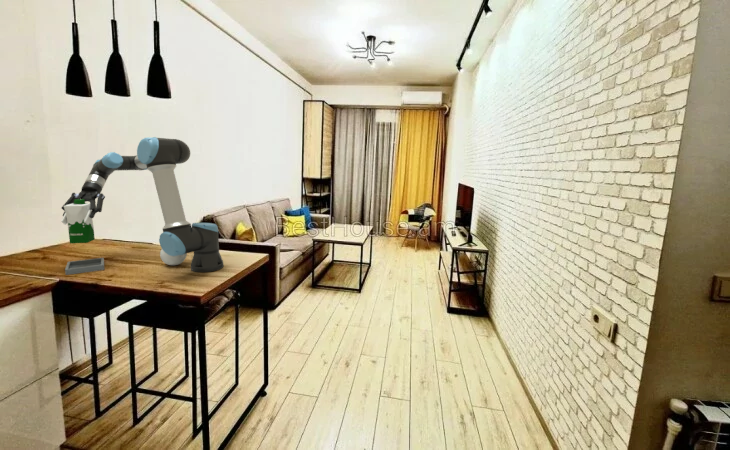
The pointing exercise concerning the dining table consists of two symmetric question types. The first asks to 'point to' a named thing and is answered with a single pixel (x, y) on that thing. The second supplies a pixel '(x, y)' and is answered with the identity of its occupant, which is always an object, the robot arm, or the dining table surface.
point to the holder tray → (84, 266)
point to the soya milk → (79, 222)
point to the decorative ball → (172, 258)
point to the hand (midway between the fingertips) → (74, 222)
